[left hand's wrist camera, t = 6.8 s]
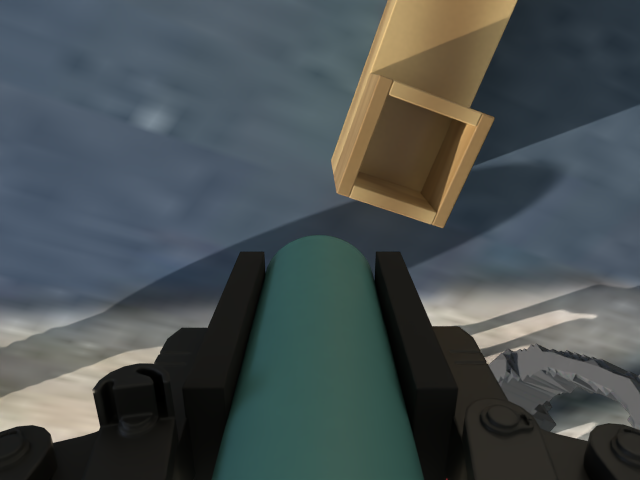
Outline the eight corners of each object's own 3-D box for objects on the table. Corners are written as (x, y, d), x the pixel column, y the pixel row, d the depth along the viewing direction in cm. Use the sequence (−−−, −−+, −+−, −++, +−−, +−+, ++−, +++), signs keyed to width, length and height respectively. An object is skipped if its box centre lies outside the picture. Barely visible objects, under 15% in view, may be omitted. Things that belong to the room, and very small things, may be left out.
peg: (261, 234, 14) (152, 549, 5) (375, 234, 14) (479, 548, 5) (266, 333, 16) (188, 727, 6) (371, 332, 16) (447, 728, 6)
